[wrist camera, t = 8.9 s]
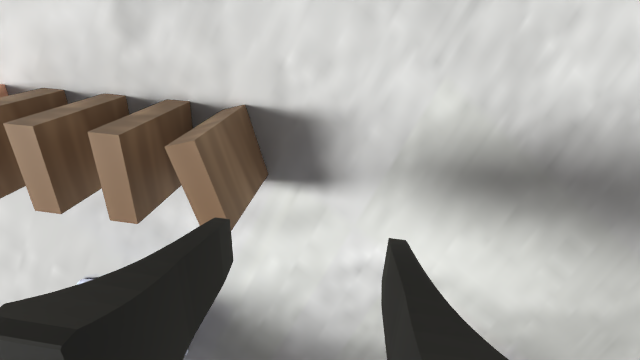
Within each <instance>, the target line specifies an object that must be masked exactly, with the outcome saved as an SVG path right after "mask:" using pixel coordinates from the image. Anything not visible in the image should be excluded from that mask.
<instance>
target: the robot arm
mask: <svg viewBox="0 0 640 360" xmlns="http://www.w3.org/2000/svg"><path fill="white" fill-rule="evenodd" d="M232 263H233V251H232V239H231V227H230V219H225V218H216V217H215V218H213V219H211V220H209V221H208V222H206V223H204V224H203V225H201V226H199V227H198V228H196V229H194V230H193V231H191V232H190V233H188V234H186V235H185V236H183V237H181V238H180V239H178V240H176V241H175V242H173V243H171V244H169V245H167V246H166V247H164V248H162V249H160V250H158V251H157V252H155V253H153V254H151V255H149V256H147V257H145V258H143V259H141V260H139V261H137V262H135V263H133V264H130V265H128V266H126V267H124V268H121V269H119V270H117V271H114V272H111V273H109V274H106V275H103V276H101V277H98V278H95V279H81V280H80V281H79V282H78V283H77V285H75V286H72V287H69V288H65V289H62V290H59V291H55V292H52V293H48V294H44V295H40V296H36V297H32V298H28V299H23V300H19V301H15V302H11V303H6V304H4V305H2V306H1V307H0V360H183V358H184V356H186V355H187V353H188V347H189V345H190V343H191V341H192V339H193V337H194V335H195V333H196V331H197V330H198V328H199V326H200V324H201V323H202V321H203V319H204V317H205V316H206V314H207V312H208V311H209V309H210V307H211V305H212V304H213V302H214V300H215V298H216V297H217V295H218V293H219V291H220V290H221V288H222V286H223V284H224V282H225V280H226V278H227V275H228V273H229V270H230V268H231V265H232ZM382 315H383V325H384V334H385V344H386V353H387V360H508V359H507V358H506V357H504V356H503V355H502V354H501V353H499V352H498V351H497V350H496V349H495V348H493V347H492V346H491V345H490V344H489V343H488V342H486V341H485V340H484V339H483V338H482V337H481V336H480V335H479V334H478V333H477V332H476V331H474V330H473V329H472V328H471V327H470V326H469V325H468V324H467V323H466V322H465V321H464V320H463V319H462V318H461V317H460V316H459V315H458V313H457V312H456V311H455V310H454V309H453V308H452V307H451V306H450V305H449V303H448V302H447V301H446V300H445V299H444V297H443V296H442V295H441V293H440V292H439V291H438V290H437V288H436V287H435V286H434V284H433V283H432V281H431V280H430V278H429V277H428V276H427V274H426V273H425V271H424V270H423V268H422V267H421V265H420V263H419V262H418V260H417V258H416V257H415V255H414V253H413V252H412V250H411V248H410V246H409V244H408V243H407V242H406V240H399V239H391V238H389V240H388V246H387V252H386V258H385V264H384V270H383V276H382Z"/></svg>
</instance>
